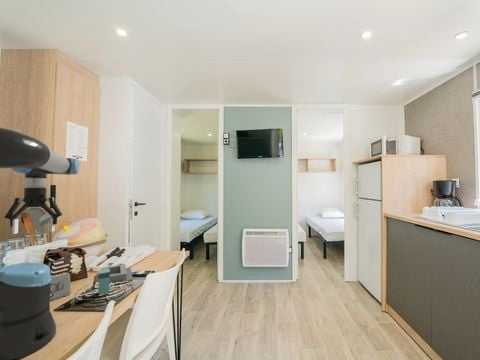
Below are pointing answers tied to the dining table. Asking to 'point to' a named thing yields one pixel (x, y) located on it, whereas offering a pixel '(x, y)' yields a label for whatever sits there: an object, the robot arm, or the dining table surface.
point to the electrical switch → (60, 286)
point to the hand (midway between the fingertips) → (34, 232)
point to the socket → (118, 273)
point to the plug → (104, 281)
